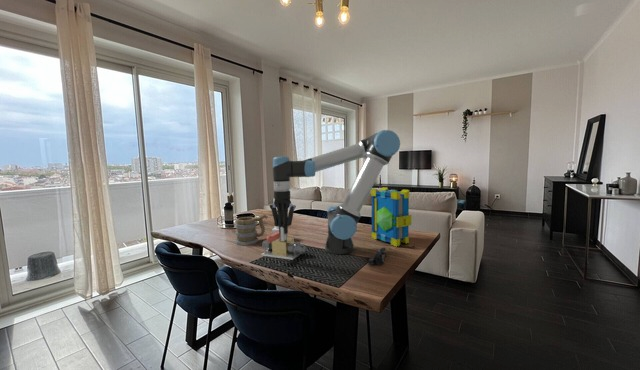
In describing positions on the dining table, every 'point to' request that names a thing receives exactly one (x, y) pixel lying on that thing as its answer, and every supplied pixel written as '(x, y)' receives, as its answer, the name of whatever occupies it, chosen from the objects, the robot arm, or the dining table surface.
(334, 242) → the robot arm
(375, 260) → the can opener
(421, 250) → the dining table surface
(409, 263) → the dining table surface
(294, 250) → the valve
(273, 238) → the lever
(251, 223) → the tankard
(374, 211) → the decorative book
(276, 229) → the medicine bottle
